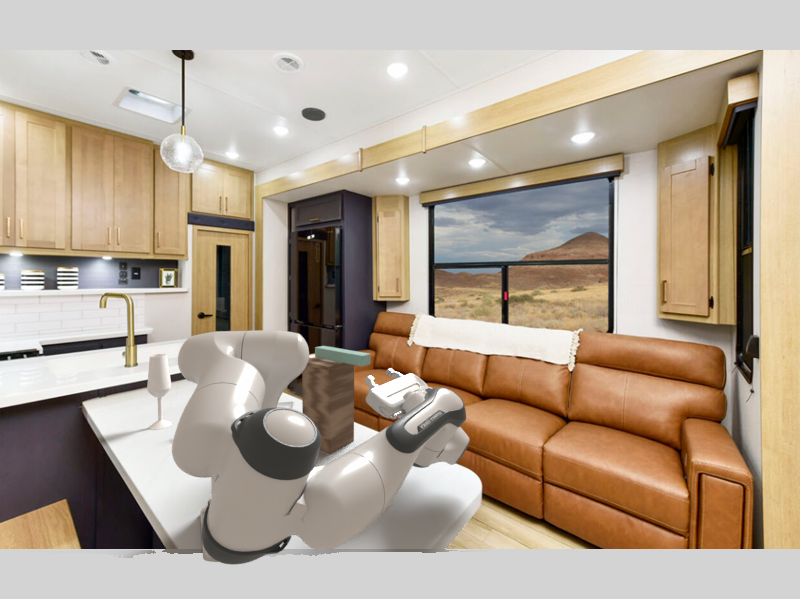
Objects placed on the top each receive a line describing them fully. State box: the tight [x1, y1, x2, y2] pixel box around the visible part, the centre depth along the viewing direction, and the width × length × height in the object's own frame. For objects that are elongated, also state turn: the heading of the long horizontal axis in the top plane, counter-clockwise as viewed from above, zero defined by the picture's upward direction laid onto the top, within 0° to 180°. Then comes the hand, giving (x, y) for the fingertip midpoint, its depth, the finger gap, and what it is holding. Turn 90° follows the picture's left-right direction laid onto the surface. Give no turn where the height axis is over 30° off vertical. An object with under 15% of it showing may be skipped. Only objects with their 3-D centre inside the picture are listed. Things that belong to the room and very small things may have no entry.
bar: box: [314, 345, 372, 367], centre depth 103 cm, size 19×4×3 cm, turn 56°
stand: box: [301, 353, 355, 455], centre depth 107 cm, size 15×14×26 cm
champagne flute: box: [146, 353, 173, 431], centre depth 117 cm, size 7×7×24 cm
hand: (377, 373), depth 96 cm, fingers open, 8 cm apart
